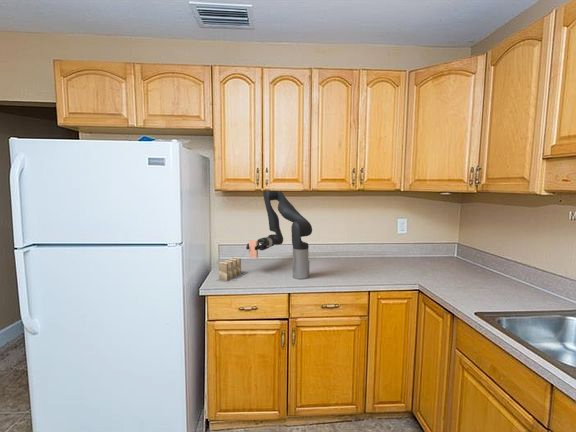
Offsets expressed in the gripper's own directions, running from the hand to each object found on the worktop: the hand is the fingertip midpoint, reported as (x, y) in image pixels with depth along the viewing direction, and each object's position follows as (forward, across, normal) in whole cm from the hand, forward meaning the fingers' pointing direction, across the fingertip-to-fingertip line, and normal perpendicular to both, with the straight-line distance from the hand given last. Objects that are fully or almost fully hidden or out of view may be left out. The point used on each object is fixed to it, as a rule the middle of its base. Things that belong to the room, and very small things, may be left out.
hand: (251, 248), depth 196 cm
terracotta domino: (-3, 0, +6) cm, 7 cm away
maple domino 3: (+6, -9, +16) cm, 20 cm away
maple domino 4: (+2, -9, +16) cm, 19 cm away
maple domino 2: (+11, -9, +16) cm, 22 cm away
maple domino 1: (+15, -9, +16) cm, 24 cm away
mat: (+6, -9, +17) cm, 20 cm away
